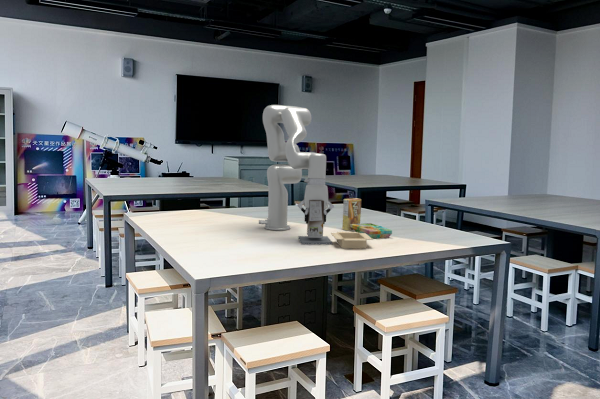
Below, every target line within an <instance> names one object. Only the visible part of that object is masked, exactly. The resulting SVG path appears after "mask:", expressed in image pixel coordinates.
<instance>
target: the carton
mask: <svg viewBox="0 0 600 399" xmlns="http://www.w3.org/2000/svg"><path fill="white" fill-rule="evenodd" d="M330 234H331V235H332V236H333V238H334V239H335V242H336V243H337V244H338V245H339V246H340V248H341V249H367V242H368V241H370V240H371V241H373V239H374V238H371V237H369V236H368V235H367V234H366V233H358V232H355V231H337V232H330Z"/></svg>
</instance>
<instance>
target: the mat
mask: <svg viewBox="0 0 600 399" xmlns="http://www.w3.org/2000/svg"><path fill="white" fill-rule="evenodd" d="M298 241H299V242H300V244H301V245H333V241H332V240H331V239H330V237H329V236H327V235H326V236H325V235H323V238H309V237H308V235H301V236H300V235H298Z"/></svg>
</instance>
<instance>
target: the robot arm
mask: <svg viewBox="0 0 600 399" xmlns="http://www.w3.org/2000/svg"><path fill="white" fill-rule="evenodd" d="M311 122H312V114H311V111H310V110H309V109H308V108H306V107H300V106H295V105H294V106H293V105H281V104H271V105H270V104H269V105H267V106H266V107H265V108H264V109H263V113H262V124H263V127H264V130H265V133H266V134H265V135H266V143H267V154H268V158H269V160H270V161H271V162H274V163H275V162H277V164H276V163H275V164H272V165H270V166H269V167H268V168H267V169H266V178H267V185H268V197H267V198H268V205H267V207H268V208H267V214H268V215H267V218H266V219H264V220H262V219H261V220H260V219H259V220H258V225H264V229H265V230H268V231H288V230H291V226H290V225H288V210H289V209H288V204H289V201H288V200H289V192H288V190H287V188H286V187H285V186H286V184H288V185H291V184H298V183H300V182H301V180H302V177H303V170H307V173H308V174H307V178H306V179H304V183H306V186H305V190H304V198H303V200H302V201H300V202H299V203H298V204H297V207H298V209H299V210H300V211H301V212H302V213H303V214H304V222H305V224H306V225H307V224H308V212H309V200H323V201H324V221H323V225H325V223H326V222H327V215H328V213H331V212H330V211H332V210H333V209H334V208H335V206H334V205H333V204H332V202H331V201H330V200H329V190H328V189H329V188H328V185H326V177H327V175H326V173H327V172H326V171H327V155H326V154H324V153H317V152H310V151H309V152H307V151H305V152H304V151H300V148H299V145H297V144H298V143H301V142H302V141H303V140H304V139H306V138H307V134H308V132H307V130H306V127H308V126H309V125H310V124H311ZM279 124H283V126H284V129H285V132H286V133H287V137H288V138H287V141H286V139H285V133H284V131H283V128H282V127H281V126H280V125H279ZM279 162H280V163H279ZM283 162H284V164H283ZM278 163H279V164H278ZM285 163H287V164H285ZM303 206H304V207H303ZM304 208H305V209H304Z"/></svg>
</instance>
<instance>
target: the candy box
mask: <svg viewBox="0 0 600 399" xmlns="http://www.w3.org/2000/svg"><path fill="white" fill-rule="evenodd" d="M342 206H343V208H342V227H341V228H342V230H344V231H354V229H353V228H351V227H350V224H361V216H362V215H361V214H362V213H361V212H362V211H361V210H362V199H361V198H355V197H354V198H344V199H343V204H342Z"/></svg>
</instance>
